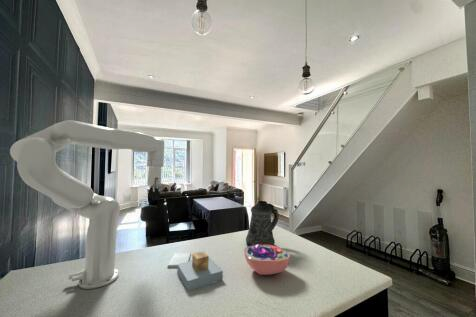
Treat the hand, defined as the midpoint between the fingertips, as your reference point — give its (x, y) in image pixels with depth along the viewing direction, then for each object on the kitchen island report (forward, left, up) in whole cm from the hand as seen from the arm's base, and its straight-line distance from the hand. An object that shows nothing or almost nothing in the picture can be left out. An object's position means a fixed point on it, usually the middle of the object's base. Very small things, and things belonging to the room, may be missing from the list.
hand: (154, 198), depth 95 cm
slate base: (+14, -27, -29) cm, 42 cm away
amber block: (+14, -27, -25) cm, 39 cm away
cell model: (+40, -38, -29) cm, 62 cm away
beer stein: (+57, -14, -28) cm, 65 cm away
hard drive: (+11, -10, -29) cm, 33 cm away
